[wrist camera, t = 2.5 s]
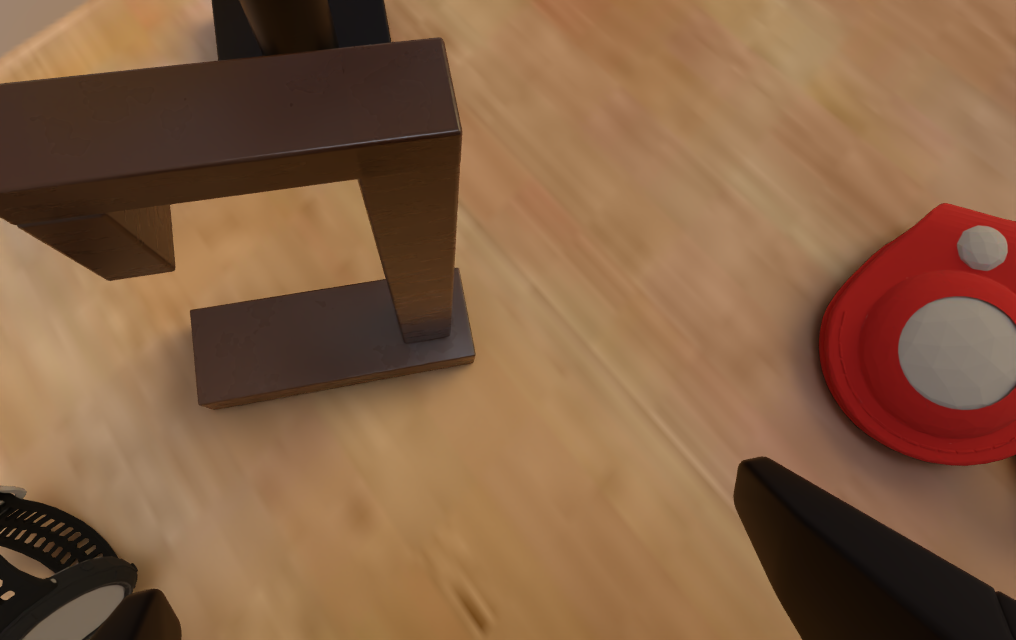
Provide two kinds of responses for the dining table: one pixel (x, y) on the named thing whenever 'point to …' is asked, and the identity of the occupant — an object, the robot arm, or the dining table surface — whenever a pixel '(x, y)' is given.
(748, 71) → the dining table surface
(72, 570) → the smartwatch
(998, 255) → the tracker holder
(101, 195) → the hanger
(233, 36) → the coat rack
